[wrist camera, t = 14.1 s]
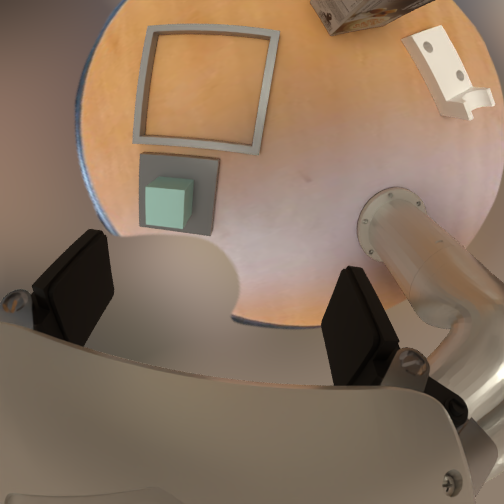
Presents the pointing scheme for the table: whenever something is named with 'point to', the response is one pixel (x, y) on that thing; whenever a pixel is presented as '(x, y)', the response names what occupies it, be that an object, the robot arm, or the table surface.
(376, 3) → the coffee box
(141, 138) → the low bin
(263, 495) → the robot arm
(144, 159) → the slate board
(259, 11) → the table surface
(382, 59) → the table surface
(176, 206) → the teal cube
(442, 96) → the bracket
